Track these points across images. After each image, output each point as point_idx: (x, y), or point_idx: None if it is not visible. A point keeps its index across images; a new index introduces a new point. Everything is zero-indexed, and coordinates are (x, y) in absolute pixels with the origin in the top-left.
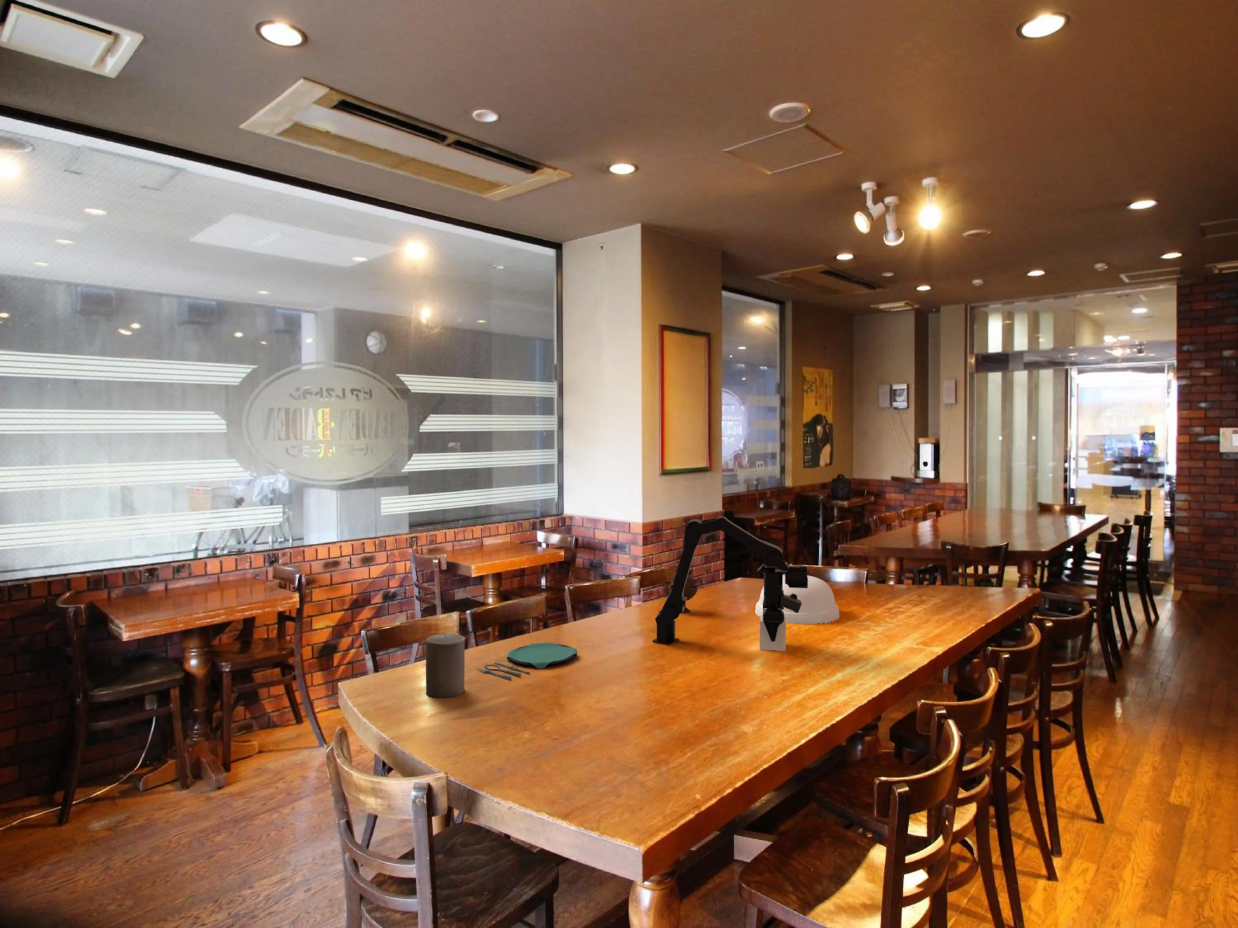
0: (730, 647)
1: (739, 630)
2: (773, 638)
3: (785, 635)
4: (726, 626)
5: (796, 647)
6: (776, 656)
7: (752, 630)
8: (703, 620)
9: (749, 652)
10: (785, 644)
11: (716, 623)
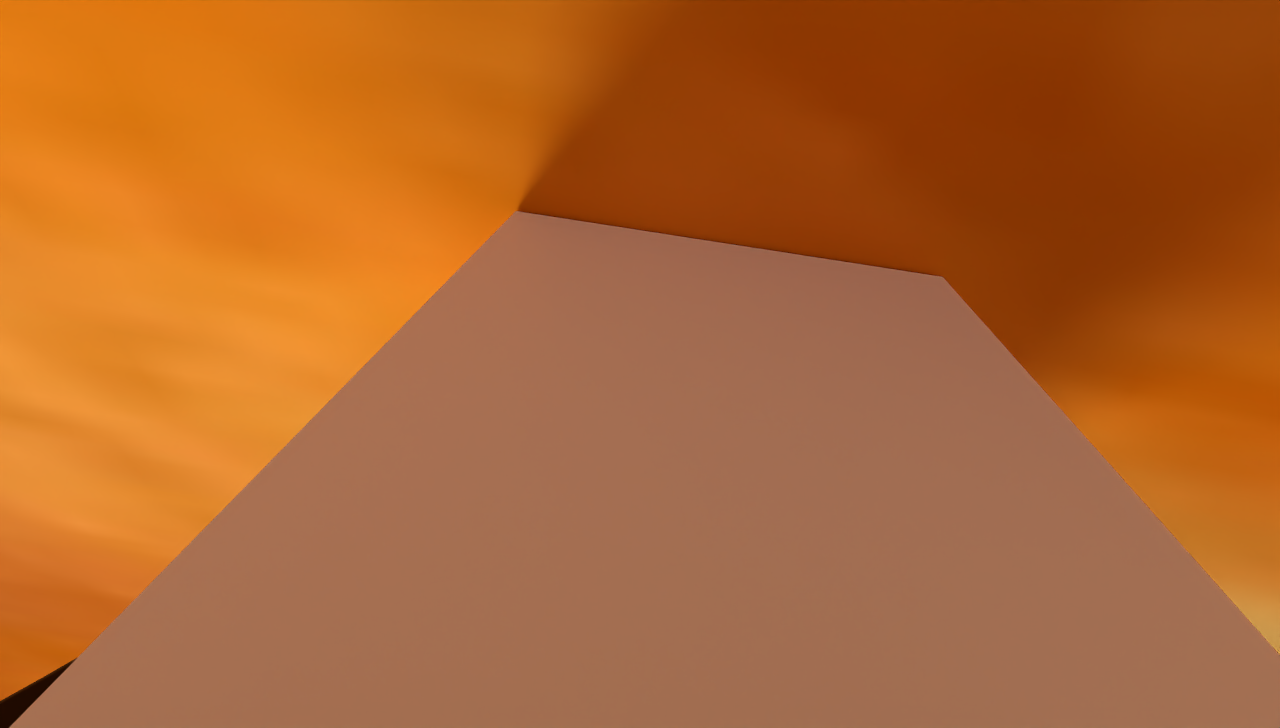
0: None
1: (125, 563)
2: None
3: (1109, 476)
4: (66, 614)
5: (717, 9)
6: (1165, 445)
7: (37, 471)
8: (17, 685)
9: None
10: (991, 338)
11: (31, 646)
